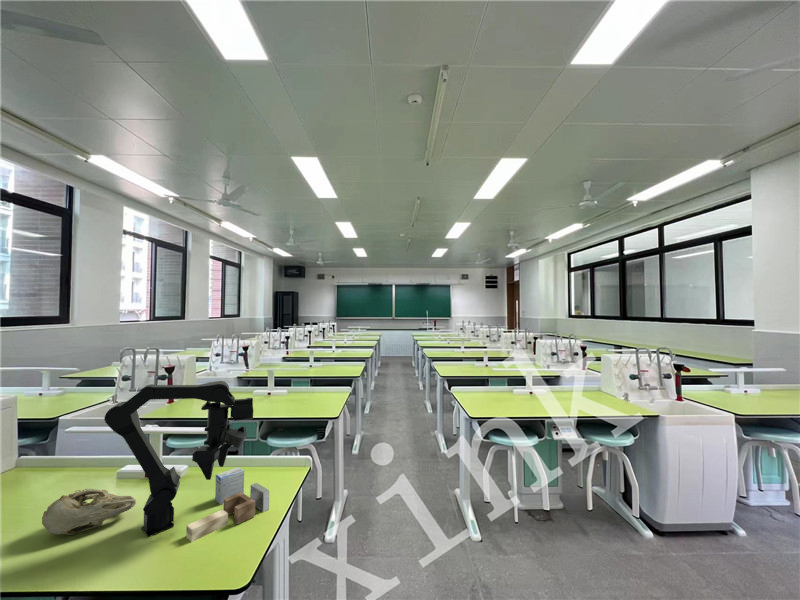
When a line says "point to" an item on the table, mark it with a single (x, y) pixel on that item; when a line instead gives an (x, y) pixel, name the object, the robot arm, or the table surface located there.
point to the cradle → (240, 507)
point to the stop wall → (260, 496)
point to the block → (206, 525)
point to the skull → (84, 510)
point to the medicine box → (229, 484)
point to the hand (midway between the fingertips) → (215, 472)
